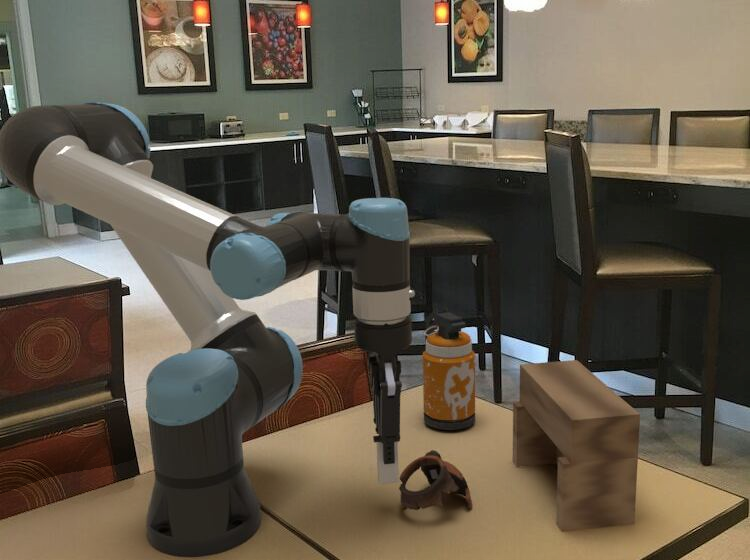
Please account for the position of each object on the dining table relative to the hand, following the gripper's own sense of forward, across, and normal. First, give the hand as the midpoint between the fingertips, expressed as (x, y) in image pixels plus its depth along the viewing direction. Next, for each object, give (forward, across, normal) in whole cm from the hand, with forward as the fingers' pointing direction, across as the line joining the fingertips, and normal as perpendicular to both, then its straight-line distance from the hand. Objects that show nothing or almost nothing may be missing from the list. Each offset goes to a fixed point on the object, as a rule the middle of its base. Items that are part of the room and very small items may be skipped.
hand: (388, 480), depth 109 cm
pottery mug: (+6, +1, -8) cm, 10 cm away
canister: (+5, +28, -14) cm, 32 cm away
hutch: (+5, 0, -22) cm, 22 cm away
